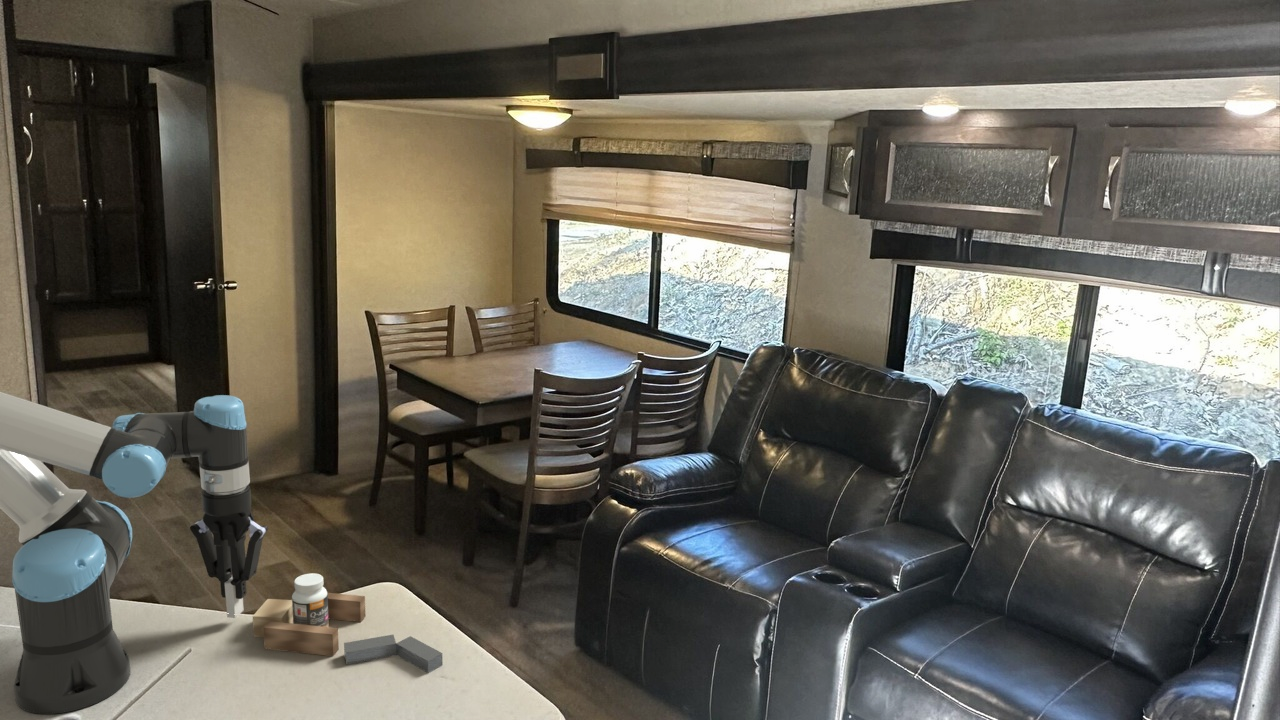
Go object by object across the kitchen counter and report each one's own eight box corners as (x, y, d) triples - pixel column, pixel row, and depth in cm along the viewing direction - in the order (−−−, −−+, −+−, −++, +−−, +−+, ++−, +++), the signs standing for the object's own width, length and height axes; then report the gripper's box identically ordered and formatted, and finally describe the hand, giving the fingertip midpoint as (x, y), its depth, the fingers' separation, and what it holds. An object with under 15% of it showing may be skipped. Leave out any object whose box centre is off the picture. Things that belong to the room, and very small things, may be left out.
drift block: (254, 637, 155) (252, 616, 154) (269, 619, 161) (267, 598, 160) (283, 638, 155) (281, 617, 154) (296, 620, 161) (295, 600, 160)
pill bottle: (317, 642, 154) (315, 589, 151) (287, 637, 155) (284, 584, 153) (335, 625, 159) (332, 574, 157) (305, 621, 160) (302, 569, 158)
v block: (337, 663, 148) (337, 651, 148) (354, 641, 154) (354, 630, 154) (437, 674, 146) (437, 661, 146) (450, 651, 153) (450, 640, 152)
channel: (264, 648, 151) (263, 627, 150) (301, 610, 164) (300, 589, 163) (333, 656, 150) (332, 634, 149) (365, 616, 163) (364, 596, 162)
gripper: (176, 492, 149) (187, 621, 155) (250, 498, 148) (259, 628, 154) (202, 476, 157) (212, 599, 162) (274, 482, 155) (281, 606, 161)
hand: (235, 613), depth 158 cm, fingers closed
